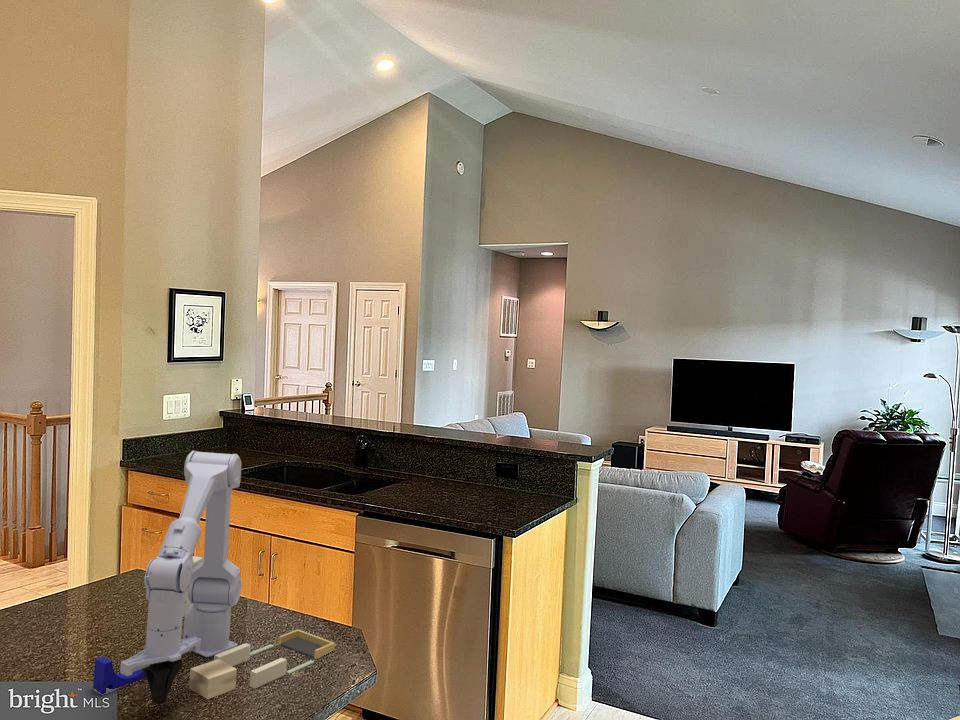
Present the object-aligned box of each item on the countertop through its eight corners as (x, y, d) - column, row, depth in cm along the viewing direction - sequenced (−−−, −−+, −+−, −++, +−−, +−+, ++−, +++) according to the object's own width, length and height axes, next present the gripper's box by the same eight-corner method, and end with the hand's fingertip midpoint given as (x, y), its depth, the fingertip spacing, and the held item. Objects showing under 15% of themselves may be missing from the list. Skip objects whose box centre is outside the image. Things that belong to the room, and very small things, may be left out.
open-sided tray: (278, 644, 159) (279, 636, 159) (297, 637, 164) (297, 629, 164) (316, 659, 153) (316, 650, 153) (334, 651, 158) (334, 642, 158)
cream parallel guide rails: (213, 670, 145) (214, 655, 145) (244, 657, 152) (246, 643, 152) (254, 688, 139) (256, 673, 138) (285, 674, 145) (287, 659, 145)
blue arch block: (146, 667, 144) (148, 637, 144) (160, 674, 142) (163, 643, 142) (88, 689, 134) (90, 657, 134) (102, 696, 131) (104, 664, 131)
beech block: (188, 689, 137) (190, 668, 137) (217, 679, 142) (218, 659, 141) (207, 700, 133) (208, 679, 133) (235, 689, 138) (236, 669, 138)
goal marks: (245, 655, 152) (245, 654, 152) (270, 645, 158) (270, 644, 158) (289, 674, 146) (289, 672, 146) (314, 662, 152) (314, 661, 152)
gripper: (140, 644, 119) (134, 725, 119) (213, 619, 131) (208, 693, 132) (115, 632, 123) (109, 711, 123) (188, 610, 135) (183, 682, 135)
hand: (158, 701), depth 127 cm, fingers closed
